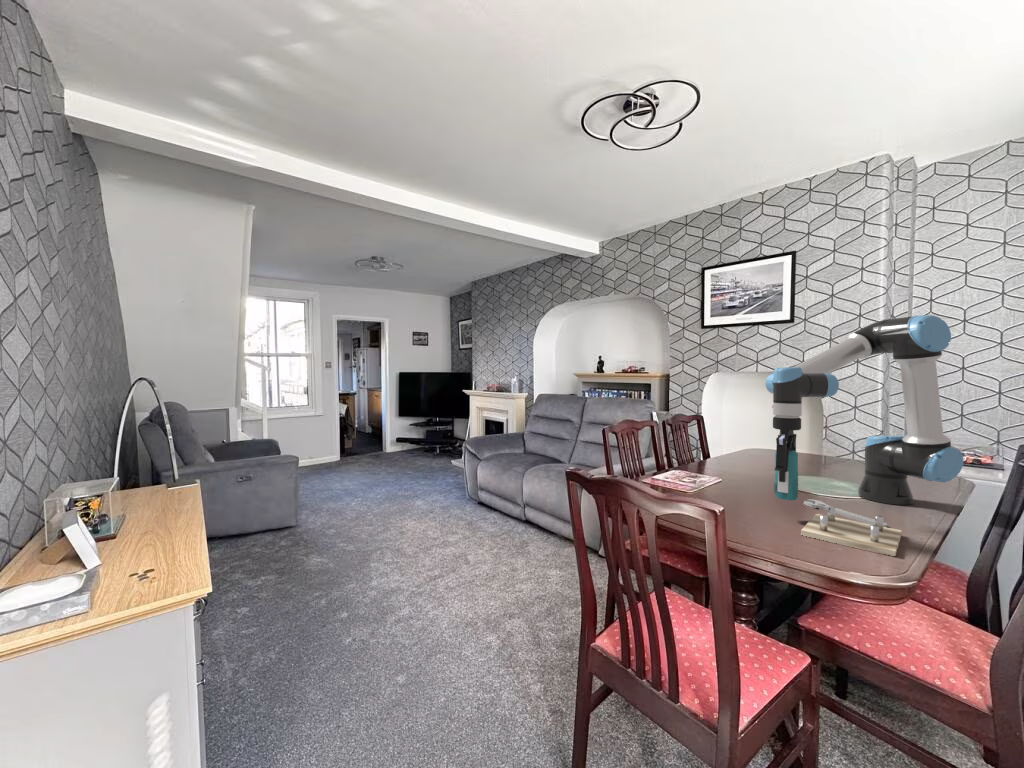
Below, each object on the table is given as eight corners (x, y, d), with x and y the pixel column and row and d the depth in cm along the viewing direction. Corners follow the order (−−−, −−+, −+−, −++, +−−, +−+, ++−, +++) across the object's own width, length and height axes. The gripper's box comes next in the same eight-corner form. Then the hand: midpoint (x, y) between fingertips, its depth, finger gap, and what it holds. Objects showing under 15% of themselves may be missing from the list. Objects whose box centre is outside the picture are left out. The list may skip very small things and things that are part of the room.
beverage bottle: (803, 505, 133) (804, 440, 133) (782, 505, 133) (783, 440, 132) (788, 498, 140) (789, 437, 139) (768, 499, 139) (769, 437, 139)
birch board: (816, 518, 136) (816, 513, 136) (901, 535, 122) (901, 530, 122) (800, 535, 122) (801, 530, 122) (895, 557, 108) (895, 551, 108)
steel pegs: (828, 519, 131) (828, 506, 131) (883, 530, 122) (883, 516, 122) (819, 530, 122) (819, 516, 122) (878, 543, 113) (878, 527, 113)
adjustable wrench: (889, 529, 129) (889, 523, 129) (872, 531, 127) (872, 525, 127) (813, 503, 153) (813, 498, 153) (798, 504, 152) (798, 499, 152)
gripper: (781, 413, 145) (780, 481, 146) (764, 418, 131) (763, 493, 132) (808, 415, 140) (807, 486, 140) (793, 420, 126) (791, 498, 127)
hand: (785, 489), depth 136 cm, fingers closed on beverage bottle, 6 cm apart
